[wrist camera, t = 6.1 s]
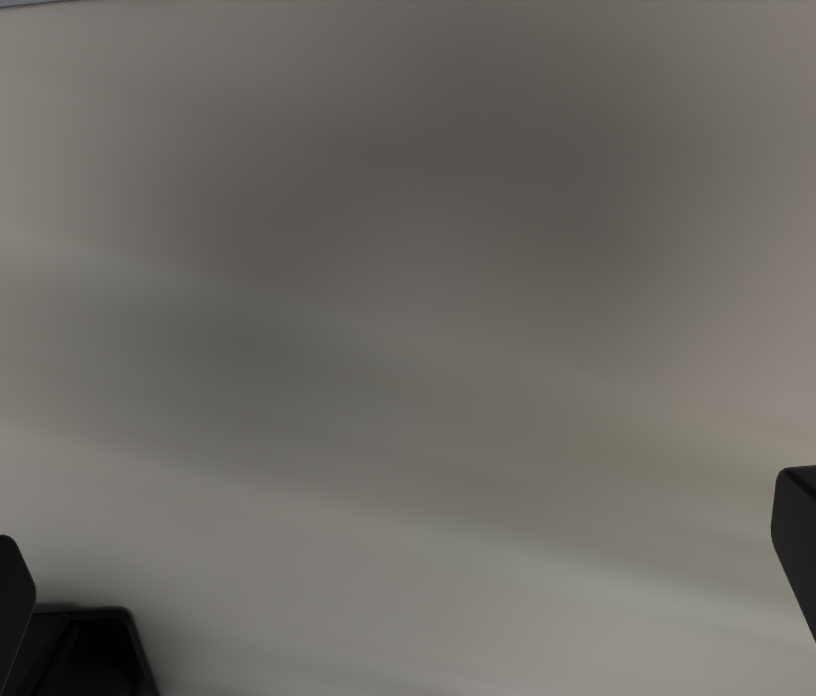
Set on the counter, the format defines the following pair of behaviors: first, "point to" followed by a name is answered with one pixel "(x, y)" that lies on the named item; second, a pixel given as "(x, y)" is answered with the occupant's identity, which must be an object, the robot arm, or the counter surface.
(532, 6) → the counter surface
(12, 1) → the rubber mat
